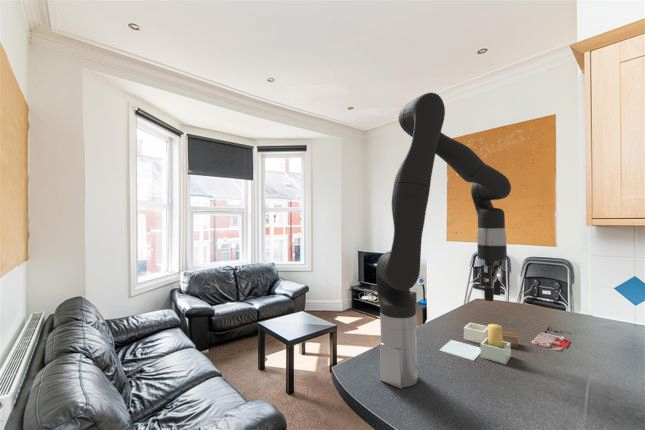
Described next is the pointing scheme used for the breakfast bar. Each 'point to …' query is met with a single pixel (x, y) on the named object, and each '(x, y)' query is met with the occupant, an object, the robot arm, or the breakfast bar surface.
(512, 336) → the walnut block
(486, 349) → the pot green
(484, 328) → the pot white
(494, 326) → the peg
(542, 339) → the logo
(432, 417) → the breakfast bar surface
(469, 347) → the thin white panel
